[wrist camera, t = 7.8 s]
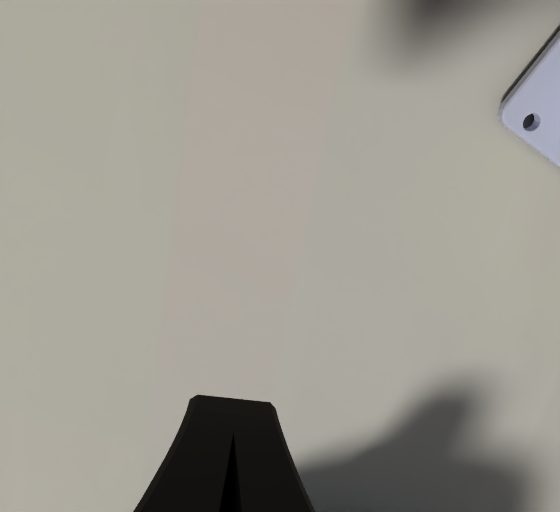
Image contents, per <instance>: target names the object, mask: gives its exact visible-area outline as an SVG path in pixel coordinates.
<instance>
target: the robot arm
mask: <svg viewBox="0 0 560 512" xmlns="http://www.w3.org/2000/svg"><path fill="white" fill-rule="evenodd" d="M529 114H533V115H534V121H533V123H532V125H531V126H530V127H528V128H525V129H524V128H523V121H524V119H525V117H527V116H528V115H529ZM498 117H499V121H500V122H501V123H502V125H503V126H505V127H506V128H507V129H509V130H510V131H511V132H513V133H514V134H515V135H517V136H518V137H519V138H521V139H522V140H523V141H525V142H526V143H527V144H529V145H530V146H531V147H533V148H534V149H535V150H536V151H538V152H539V153H540V154H542V155H543V156H544V157H546V158H547V159H548V160H550V161H551V162H552V163H554V164H555V165H556V166H558V167H559V168H560V31H559V32H558V33H557V34H556V36H555V37H554V38H553V39H552V41H551V42H550V43H549V44H548V46H547V47H546V48H545V49H544V51H543V52H542V53H541V54H540V56H539V57H538V58H537V59H536V61H535V62H534V63H533V64H532V66H531V67H530V68H529V69H528V71H527V72H526V73H525V74H524V76H523V77H522V78H521V79H520V81H519V82H518V83H517V84H516V86H515V87H514V88H513V89H512V91H511V92H510V93H509V94H508V96H507V97H506V98H505V99H504V101H503V102H502V104H501V105H500V107H499V111H498ZM133 512H315V511H314V509H313V506H312V504H311V502H310V500H309V498H308V495H307V493H306V491H305V489H304V487H303V484H302V482H301V479H300V477H299V475H298V472H297V470H296V467H295V465H294V462H293V459H292V457H291V454H290V452H289V449H288V446H287V444H286V441H285V438H284V435H283V432H282V429H281V426H280V423H279V419H278V416H277V412H276V409H275V407H274V406H273V405H272V404H271V403H270V402H261V401H252V400H243V399H233V398H224V397H214V396H205V395H196V396H195V397H193V398H191V399H190V401H189V404H188V408H187V411H186V414H185V416H184V419H183V421H182V424H181V426H180V428H179V431H178V433H177V435H176V437H175V439H174V441H173V443H172V445H171V447H170V449H169V451H168V453H167V455H166V457H165V459H164V460H163V462H162V464H161V466H160V467H159V469H158V471H157V473H156V474H155V476H154V478H153V480H152V481H151V483H150V485H149V487H148V488H147V490H146V492H145V494H144V495H143V497H142V499H141V500H140V502H139V503H138V505H137V507H136V508H135V510H134V511H133Z"/></svg>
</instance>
